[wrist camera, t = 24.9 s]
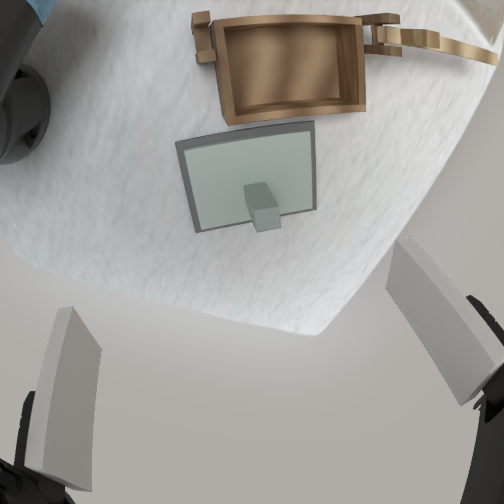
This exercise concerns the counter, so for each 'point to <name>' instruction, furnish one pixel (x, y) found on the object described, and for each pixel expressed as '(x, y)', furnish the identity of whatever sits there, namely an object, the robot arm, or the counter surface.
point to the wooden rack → (289, 63)
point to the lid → (251, 179)
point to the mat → (236, 135)
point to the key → (434, 43)
